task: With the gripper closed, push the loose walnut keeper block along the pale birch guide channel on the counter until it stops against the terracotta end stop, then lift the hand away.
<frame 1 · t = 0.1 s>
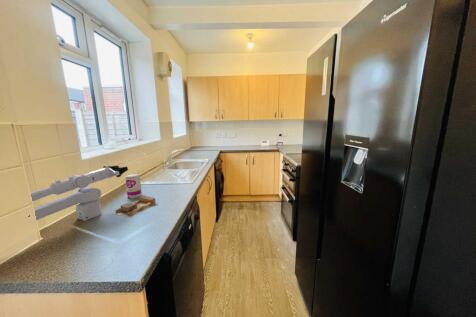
hand: (122, 167, 113), 22 cm above the worktop, tool horizontal, fingers open, 7 cm apart
keeper: (129, 210, 103), point 1 cm above the worktop, touching guide channel
supplement can: (135, 198, 124), on the worktop
guide channel: (136, 209, 107), on the worktop
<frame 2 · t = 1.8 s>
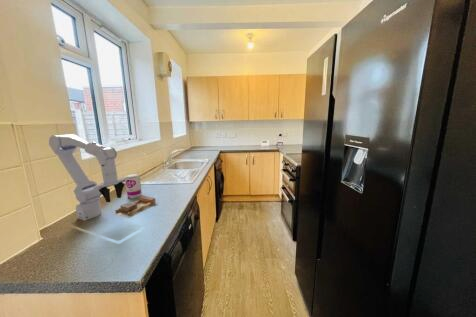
hand: (113, 199, 94), 10 cm above the worktop, tool pointing down, fingers open, 5 cm apart
nothing on the worktop moved.
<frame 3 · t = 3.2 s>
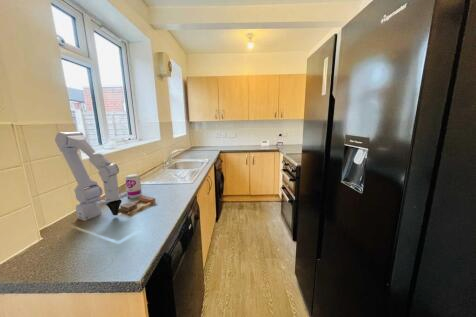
hand: (115, 214, 96), 2 cm above the worktop, tool pointing down, fingers closed
nothing on the worktop moved.
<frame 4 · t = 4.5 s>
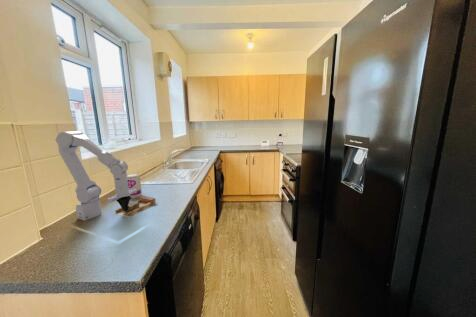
hand: (125, 210, 101), 2 cm above the worktop, tool pointing down, fingers closed
keeper: (131, 209, 104), point 1 cm above the worktop, touching gripper, guide channel
everything else where it was.
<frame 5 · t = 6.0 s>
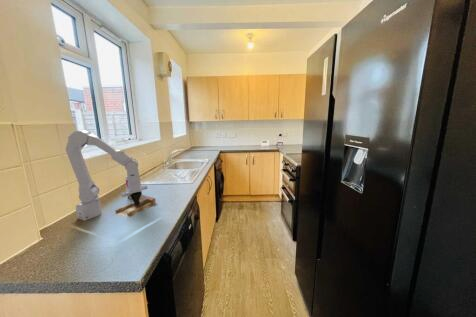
hand: (136, 205, 107), 2 cm above the worktop, tool pointing down, fingers closed
keeper: (141, 205, 110), point 1 cm above the worktop, touching gripper, guide channel
everything else where it was.
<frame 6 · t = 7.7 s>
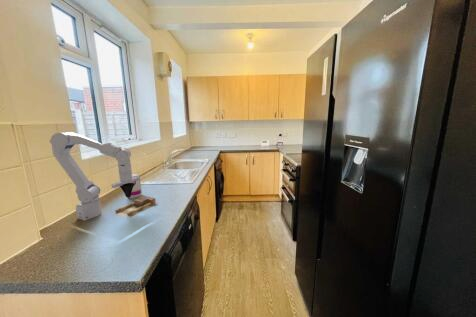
hand: (128, 196, 102), 9 cm above the worktop, tool pointing down, fingers closed
keeper: (141, 205, 110), point 1 cm above the worktop, touching guide channel
everything else where it was.
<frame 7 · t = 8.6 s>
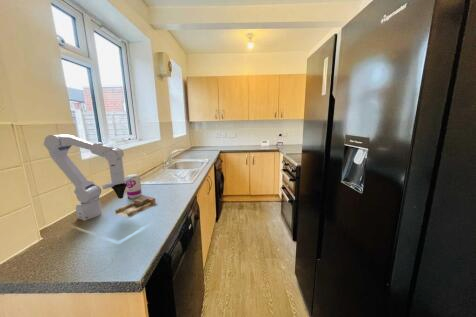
hand: (120, 197, 99), 9 cm above the worktop, tool pointing down, fingers closed
nothing on the worktop moved.
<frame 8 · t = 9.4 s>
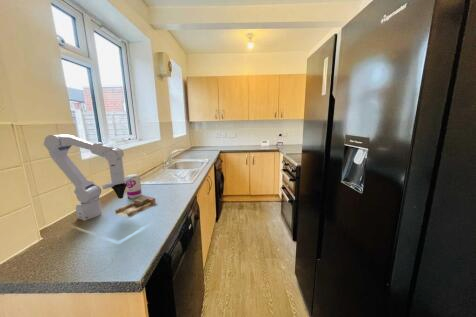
hand: (120, 197, 99), 9 cm above the worktop, tool pointing down, fingers closed
nothing on the worktop moved.
at the end: keeper 0.1 cm from the target spot, point 1.0 cm above the worktop; keeper tilted 0° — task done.
